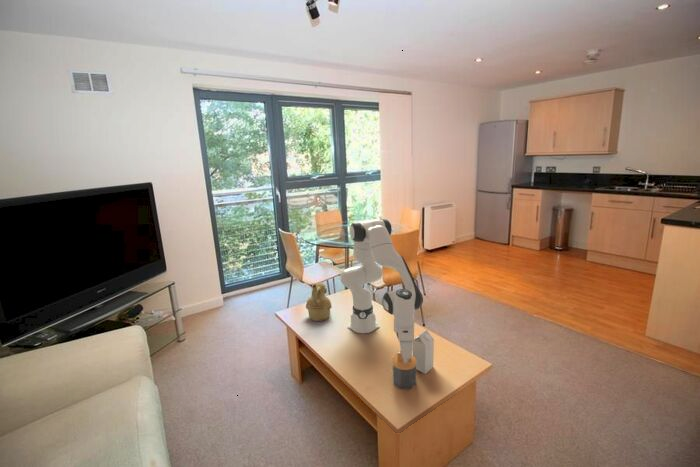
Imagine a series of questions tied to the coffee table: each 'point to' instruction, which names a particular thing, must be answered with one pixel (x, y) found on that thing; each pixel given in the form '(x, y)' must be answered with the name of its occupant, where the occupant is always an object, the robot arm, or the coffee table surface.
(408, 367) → the orange cap
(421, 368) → the milk carton
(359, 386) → the coffee table surface
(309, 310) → the ceramic vessel
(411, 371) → the graphite tube
